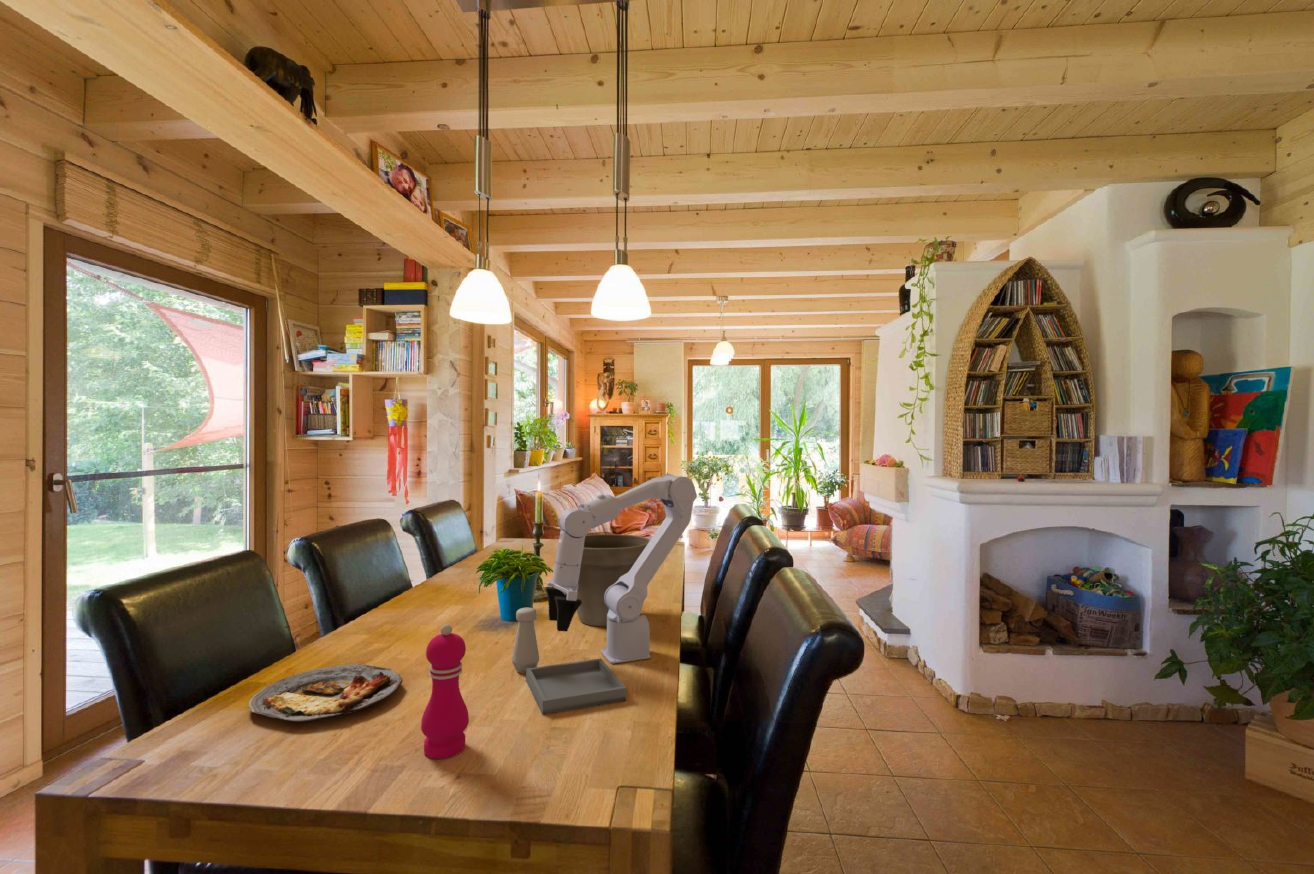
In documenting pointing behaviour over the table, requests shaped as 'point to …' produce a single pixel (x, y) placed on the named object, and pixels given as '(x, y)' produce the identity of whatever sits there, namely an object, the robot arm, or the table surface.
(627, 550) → the plant pot
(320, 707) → the food plate
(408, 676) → the table surface
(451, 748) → the pepper mill
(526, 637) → the salt shaker
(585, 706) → the tray
